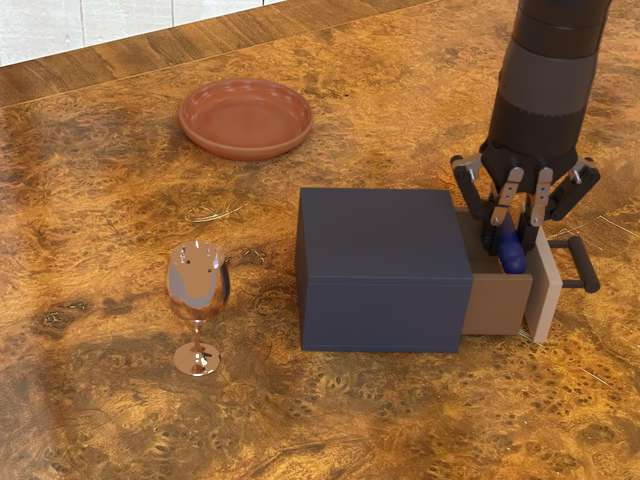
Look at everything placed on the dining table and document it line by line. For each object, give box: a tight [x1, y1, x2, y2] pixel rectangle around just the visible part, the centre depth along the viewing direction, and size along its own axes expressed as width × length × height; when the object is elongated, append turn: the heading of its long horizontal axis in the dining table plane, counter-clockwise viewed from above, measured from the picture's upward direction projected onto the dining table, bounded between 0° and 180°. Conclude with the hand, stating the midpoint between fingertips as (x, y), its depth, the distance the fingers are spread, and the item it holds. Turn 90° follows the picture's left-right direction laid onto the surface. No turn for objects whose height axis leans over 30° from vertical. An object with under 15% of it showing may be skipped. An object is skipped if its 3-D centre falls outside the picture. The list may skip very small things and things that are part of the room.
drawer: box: [454, 201, 602, 344], centre depth 102 cm, size 18×12×7 cm
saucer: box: [178, 77, 315, 162], centre depth 127 cm, size 16×16×3 cm
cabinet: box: [294, 186, 474, 354], centre depth 102 cm, size 15×14×9 cm
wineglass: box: [163, 240, 231, 377], centre depth 94 cm, size 6×6×12 cm
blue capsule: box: [497, 211, 527, 274], centre depth 100 cm, size 9×2×2 cm, turn 1°
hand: (505, 250), depth 100 cm, fingers closed on blue capsule, 2 cm apart
